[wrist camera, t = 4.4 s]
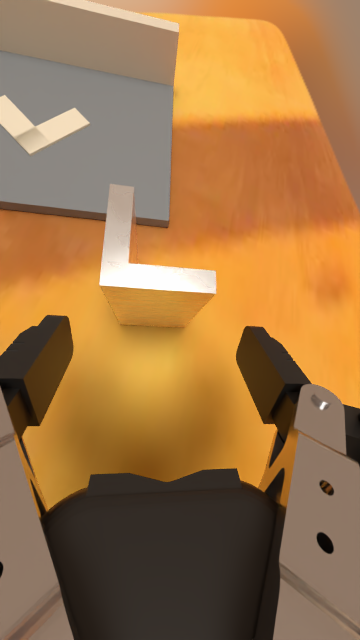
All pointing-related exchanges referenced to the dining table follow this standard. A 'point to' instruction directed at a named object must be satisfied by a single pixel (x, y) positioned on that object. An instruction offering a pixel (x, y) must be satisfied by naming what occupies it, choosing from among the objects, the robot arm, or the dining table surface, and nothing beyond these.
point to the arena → (85, 108)
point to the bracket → (146, 274)
